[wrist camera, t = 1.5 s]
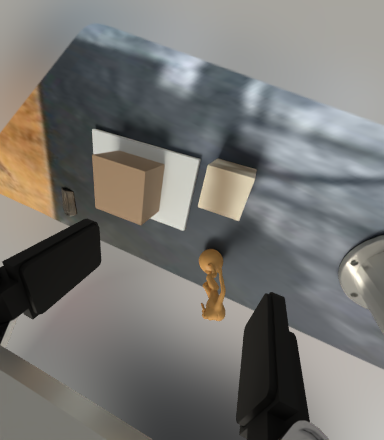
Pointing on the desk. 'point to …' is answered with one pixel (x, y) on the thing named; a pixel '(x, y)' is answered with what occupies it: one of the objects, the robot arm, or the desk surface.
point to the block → (69, 202)
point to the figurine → (213, 284)
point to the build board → (172, 177)
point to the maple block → (226, 188)
